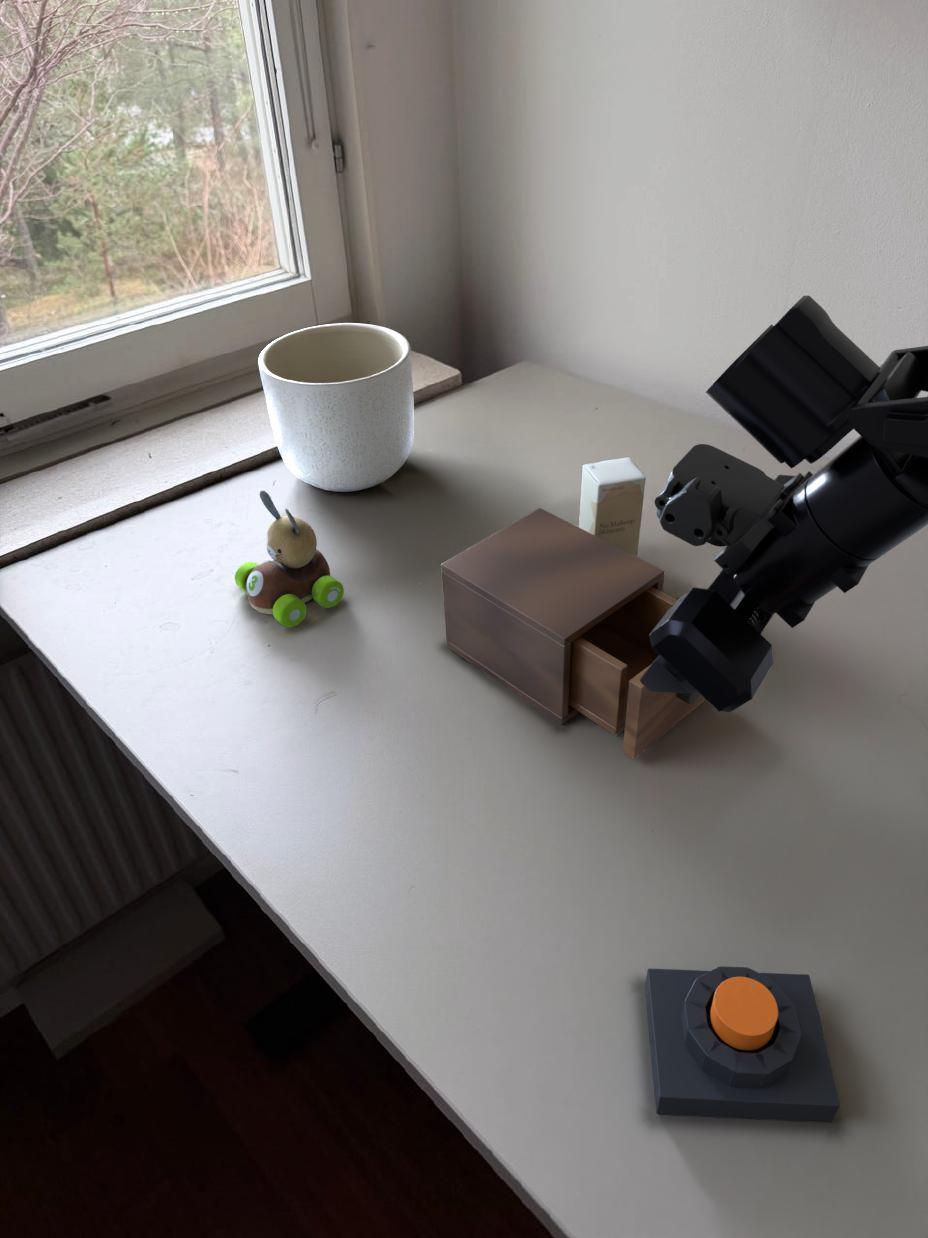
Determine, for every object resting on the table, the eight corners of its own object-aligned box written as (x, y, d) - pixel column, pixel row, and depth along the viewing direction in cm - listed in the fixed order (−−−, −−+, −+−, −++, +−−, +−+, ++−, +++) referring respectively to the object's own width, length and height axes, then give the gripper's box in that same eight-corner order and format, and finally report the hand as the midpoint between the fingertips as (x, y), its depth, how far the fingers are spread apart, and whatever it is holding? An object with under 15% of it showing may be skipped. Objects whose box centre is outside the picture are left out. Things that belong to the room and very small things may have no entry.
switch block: (802, 992, 60) (814, 958, 57) (832, 1123, 54) (847, 1091, 51) (644, 986, 61) (649, 952, 58) (656, 1114, 55) (662, 1082, 52)
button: (767, 993, 56) (772, 977, 55) (778, 1052, 53) (784, 1037, 52) (706, 990, 56) (709, 975, 55) (714, 1049, 54) (718, 1034, 53)
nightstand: (655, 655, 86) (665, 570, 80) (561, 725, 79) (564, 639, 73) (539, 588, 94) (540, 507, 88) (446, 647, 88) (440, 563, 82)
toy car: (231, 594, 96) (207, 500, 89) (304, 559, 100) (287, 468, 93) (277, 636, 90) (257, 540, 83) (353, 598, 94) (339, 503, 87)
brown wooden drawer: (730, 696, 80) (743, 625, 75) (646, 767, 74) (654, 696, 69) (598, 620, 88) (602, 552, 84) (513, 679, 83) (512, 609, 78)
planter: (440, 488, 110) (432, 365, 101) (299, 522, 106) (276, 397, 96) (394, 426, 123) (383, 312, 113) (266, 455, 118) (244, 338, 109)
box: (590, 579, 95) (595, 485, 88) (575, 556, 98) (579, 463, 91) (639, 570, 96) (647, 475, 89) (622, 547, 99) (629, 454, 92)
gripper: (794, 351, 57) (647, 498, 69) (667, 491, 45) (517, 638, 57) (928, 478, 57) (757, 603, 69) (836, 651, 45) (648, 765, 57)
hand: (675, 644), depth 63 cm, fingers open, 9 cm apart
